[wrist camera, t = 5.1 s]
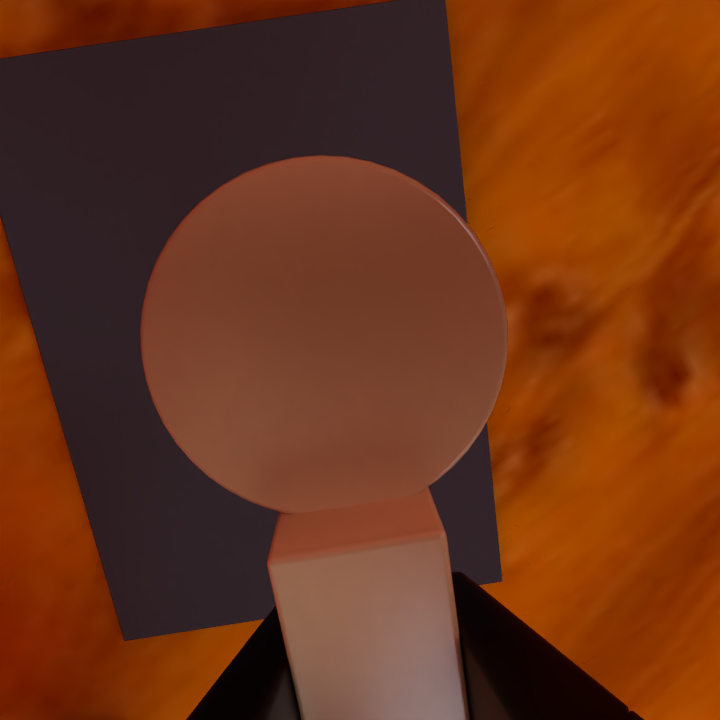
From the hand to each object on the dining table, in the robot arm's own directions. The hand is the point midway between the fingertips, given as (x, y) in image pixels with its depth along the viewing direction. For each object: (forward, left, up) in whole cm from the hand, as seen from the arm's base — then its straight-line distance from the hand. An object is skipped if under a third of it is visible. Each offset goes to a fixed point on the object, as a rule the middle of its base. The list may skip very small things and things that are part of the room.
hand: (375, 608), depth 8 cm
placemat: (+2, +3, -11) cm, 12 cm away
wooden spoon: (0, 0, -1) cm, 1 cm away
